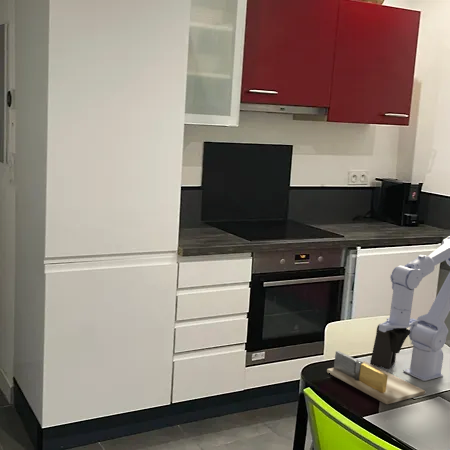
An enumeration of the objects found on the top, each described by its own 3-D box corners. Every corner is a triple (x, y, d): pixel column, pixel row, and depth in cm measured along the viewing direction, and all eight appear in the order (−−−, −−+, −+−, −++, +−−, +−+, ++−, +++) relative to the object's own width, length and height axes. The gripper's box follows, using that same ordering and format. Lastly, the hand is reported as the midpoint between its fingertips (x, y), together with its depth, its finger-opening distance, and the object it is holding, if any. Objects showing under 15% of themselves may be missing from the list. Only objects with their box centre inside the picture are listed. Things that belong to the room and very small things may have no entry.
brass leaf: (362, 379, 187) (364, 363, 187) (385, 392, 180) (387, 375, 179) (359, 380, 187) (361, 364, 186) (382, 392, 180) (384, 375, 179)
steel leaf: (337, 367, 196) (339, 350, 195) (361, 380, 188) (364, 362, 187) (333, 368, 195) (335, 351, 194) (357, 381, 187) (359, 363, 186)
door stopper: (388, 369, 201) (393, 332, 199) (369, 364, 204) (374, 328, 202) (395, 360, 209) (400, 325, 207) (377, 356, 211) (381, 321, 209)
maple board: (364, 364, 203) (364, 361, 203) (424, 394, 185) (425, 390, 184) (326, 372, 194) (327, 368, 194) (386, 404, 175) (387, 401, 175)
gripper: (406, 301, 194) (400, 344, 197) (373, 305, 186) (367, 350, 188) (425, 308, 189) (419, 352, 191) (392, 313, 180) (386, 359, 183)
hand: (394, 352), depth 189 cm, fingers closed
